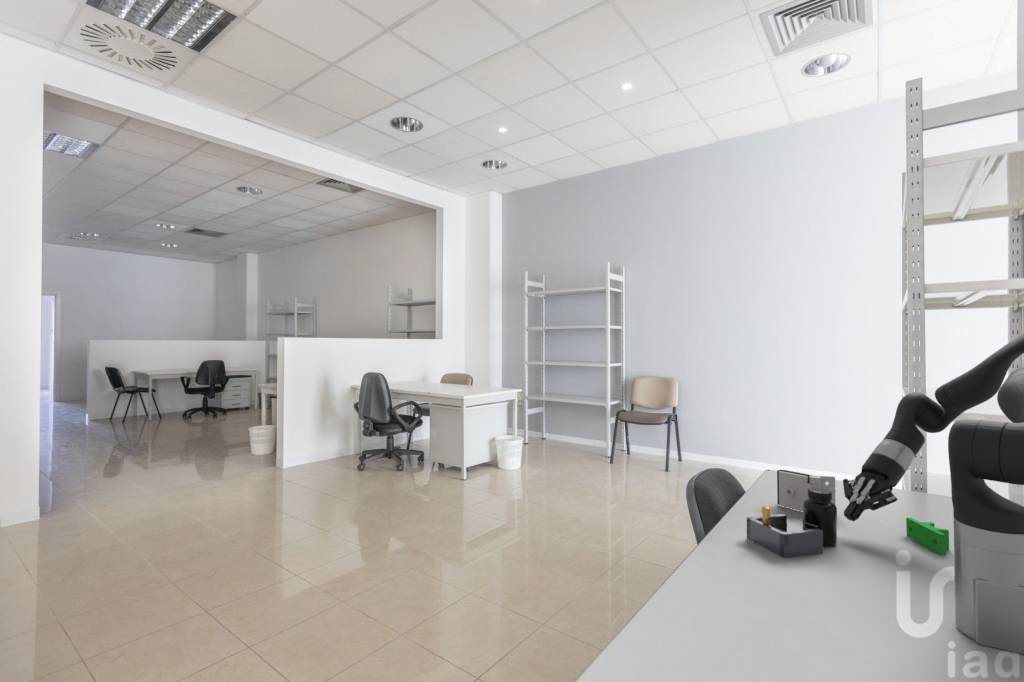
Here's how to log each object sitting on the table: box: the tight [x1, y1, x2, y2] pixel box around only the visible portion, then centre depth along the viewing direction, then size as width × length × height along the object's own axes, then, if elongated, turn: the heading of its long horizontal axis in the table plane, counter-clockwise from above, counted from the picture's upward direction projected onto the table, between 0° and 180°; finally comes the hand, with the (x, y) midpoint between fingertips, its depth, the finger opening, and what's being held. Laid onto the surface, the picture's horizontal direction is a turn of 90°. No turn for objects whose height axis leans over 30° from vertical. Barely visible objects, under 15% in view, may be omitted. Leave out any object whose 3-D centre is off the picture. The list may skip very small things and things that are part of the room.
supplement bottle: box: [802, 487, 838, 548], centre depth 117 cm, size 7×7×12 cm
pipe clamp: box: [905, 517, 950, 556], centre depth 114 cm, size 11×4×5 cm, turn 173°
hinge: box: [776, 469, 837, 512], centre depth 139 cm, size 14×5×10 cm, turn 49°
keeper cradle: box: [746, 505, 824, 559], centre depth 114 cm, size 10×11×9 cm
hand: (848, 518), depth 119 cm, fingers closed
